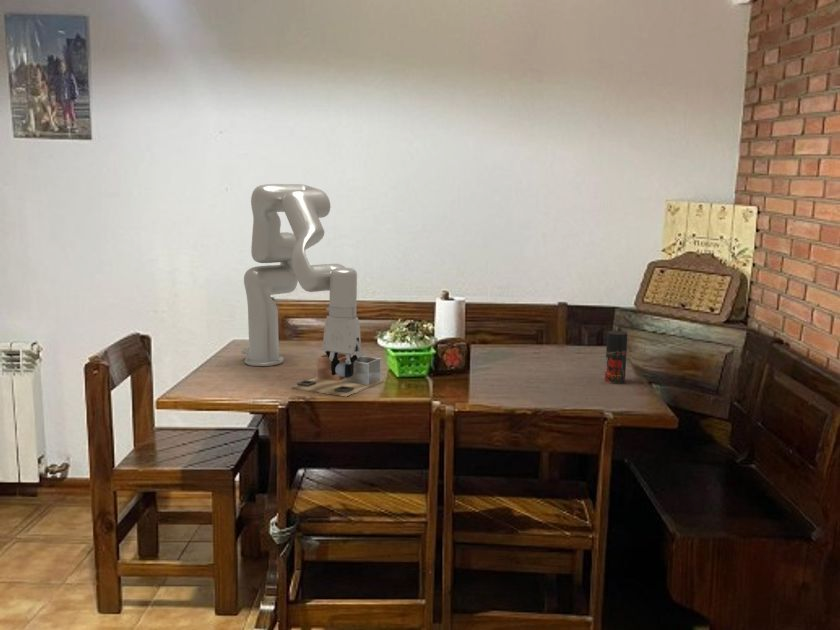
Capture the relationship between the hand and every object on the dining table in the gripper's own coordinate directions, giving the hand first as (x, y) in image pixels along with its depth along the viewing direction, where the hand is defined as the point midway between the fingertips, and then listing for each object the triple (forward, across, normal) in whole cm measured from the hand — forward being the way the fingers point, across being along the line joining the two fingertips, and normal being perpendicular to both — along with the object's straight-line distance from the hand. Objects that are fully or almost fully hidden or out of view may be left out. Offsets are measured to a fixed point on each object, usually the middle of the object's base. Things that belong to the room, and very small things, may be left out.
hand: (342, 374), depth 231 cm
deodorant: (+4, +65, +51) cm, 82 cm away
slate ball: (-2, 0, 0) cm, 2 cm away
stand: (+5, -5, +6) cm, 9 cm away
